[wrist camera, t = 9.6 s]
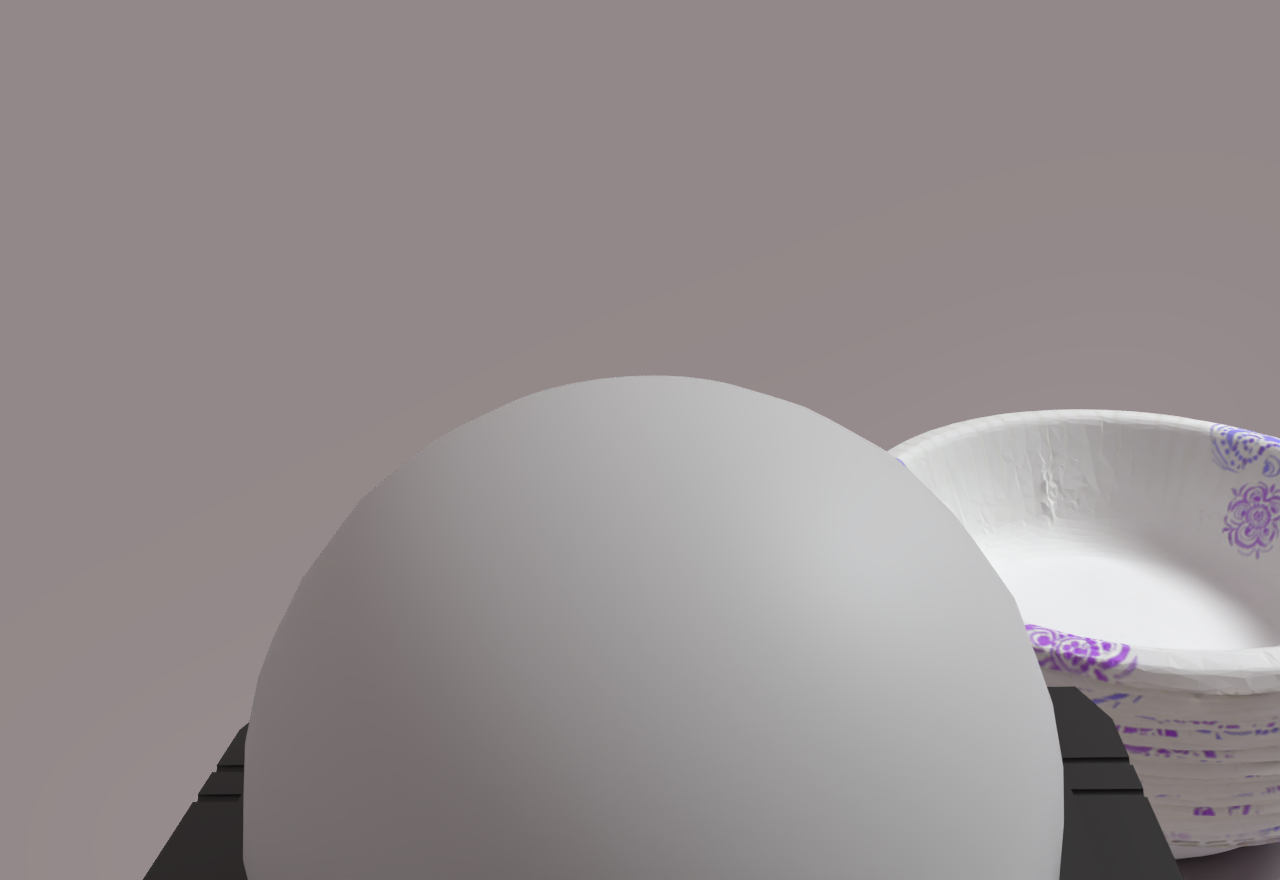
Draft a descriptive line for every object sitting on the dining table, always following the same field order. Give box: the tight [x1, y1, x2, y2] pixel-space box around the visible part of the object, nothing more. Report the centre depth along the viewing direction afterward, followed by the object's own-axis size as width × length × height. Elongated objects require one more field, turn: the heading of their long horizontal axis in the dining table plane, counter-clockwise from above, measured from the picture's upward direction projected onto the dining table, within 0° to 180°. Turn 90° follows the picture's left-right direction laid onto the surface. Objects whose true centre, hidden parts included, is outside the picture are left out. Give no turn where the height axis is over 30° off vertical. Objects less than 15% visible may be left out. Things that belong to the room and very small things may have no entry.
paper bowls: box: [887, 409, 1280, 859], centre depth 34 cm, size 15×15×8 cm
